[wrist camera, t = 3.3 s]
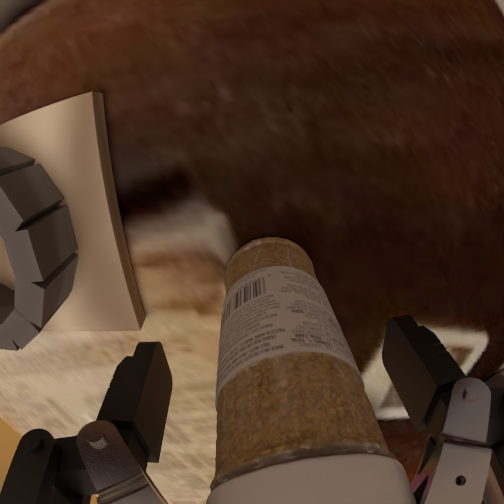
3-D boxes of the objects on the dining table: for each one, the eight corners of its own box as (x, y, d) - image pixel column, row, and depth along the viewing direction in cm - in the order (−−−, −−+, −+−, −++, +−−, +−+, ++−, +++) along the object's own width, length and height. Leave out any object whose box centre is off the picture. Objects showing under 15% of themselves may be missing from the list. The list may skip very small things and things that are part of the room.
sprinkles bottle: (254, 326, 17) (271, 584, 5) (206, 262, 16) (152, 561, 3) (328, 287, 17) (433, 539, 4) (287, 215, 15) (411, 516, 3)
